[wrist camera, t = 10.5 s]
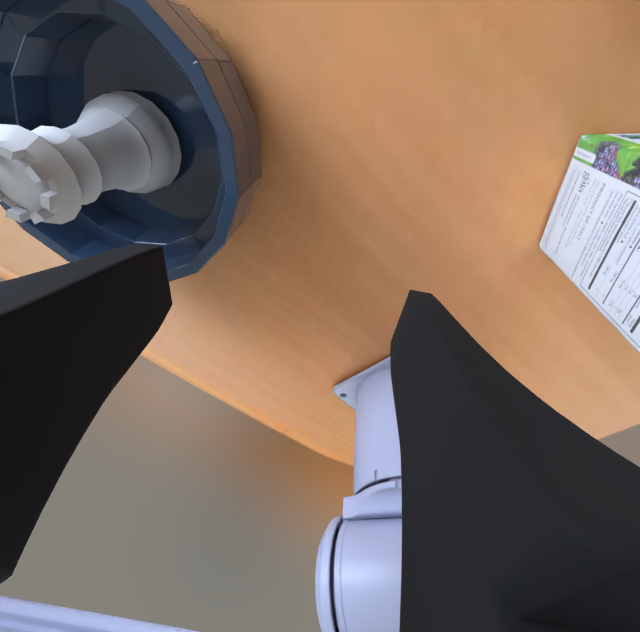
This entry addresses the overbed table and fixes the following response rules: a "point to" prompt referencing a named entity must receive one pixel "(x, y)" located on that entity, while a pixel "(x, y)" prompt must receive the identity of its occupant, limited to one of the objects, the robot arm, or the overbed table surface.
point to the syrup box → (601, 228)
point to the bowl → (153, 84)
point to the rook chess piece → (86, 158)
